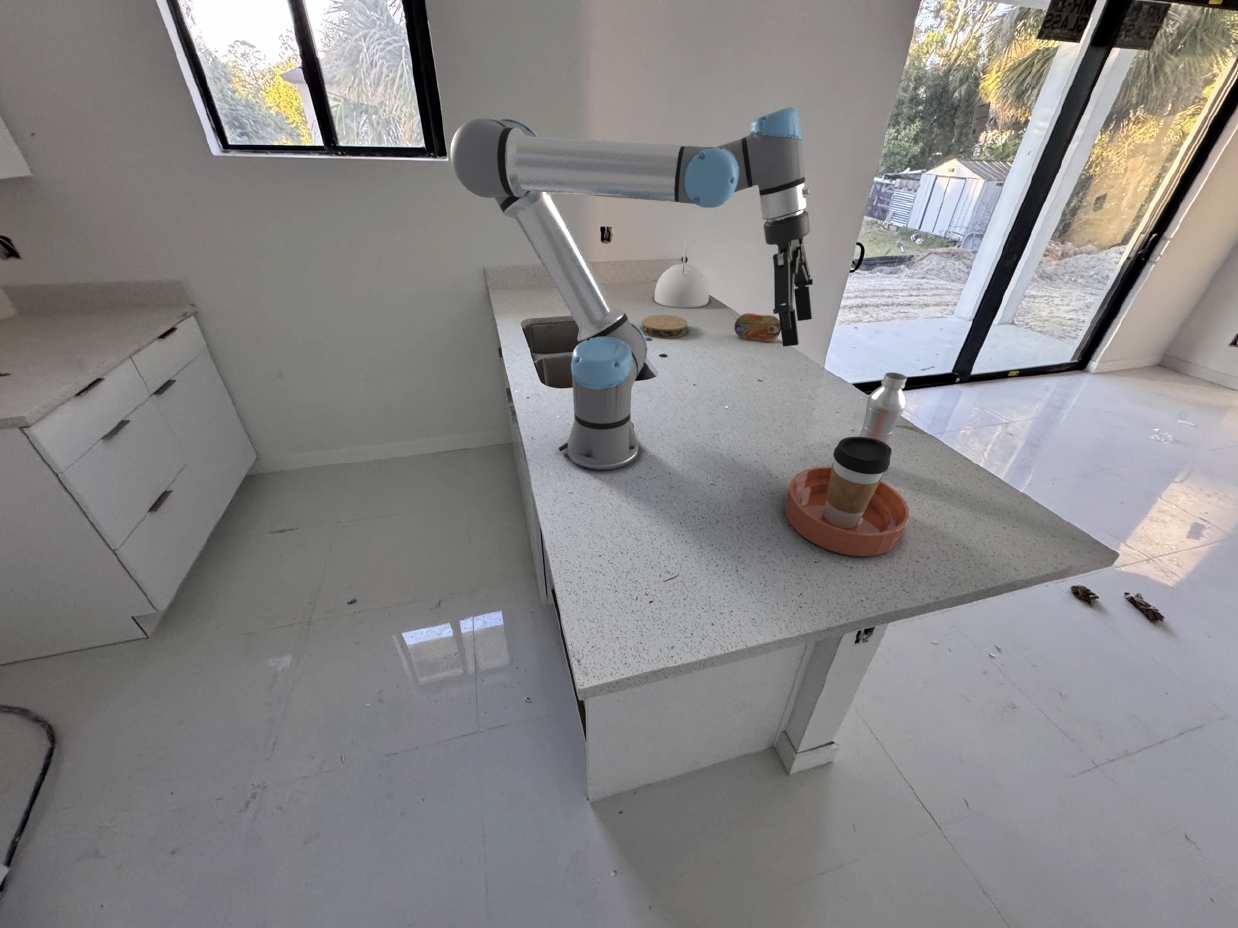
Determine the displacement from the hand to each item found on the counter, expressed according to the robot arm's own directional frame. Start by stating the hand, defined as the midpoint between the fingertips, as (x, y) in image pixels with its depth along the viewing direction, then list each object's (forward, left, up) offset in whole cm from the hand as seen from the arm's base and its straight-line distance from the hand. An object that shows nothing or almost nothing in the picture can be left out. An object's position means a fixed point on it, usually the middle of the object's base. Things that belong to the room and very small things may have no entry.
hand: (798, 332), depth 95 cm
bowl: (-5, -27, -25) cm, 37 cm away
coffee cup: (-5, -27, -25) cm, 37 cm away
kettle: (+30, +112, -25) cm, 118 cm away
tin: (+33, +59, -25) cm, 72 cm away
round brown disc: (+7, +77, -25) cm, 82 cm away
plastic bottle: (+12, -15, -25) cm, 32 cm away
